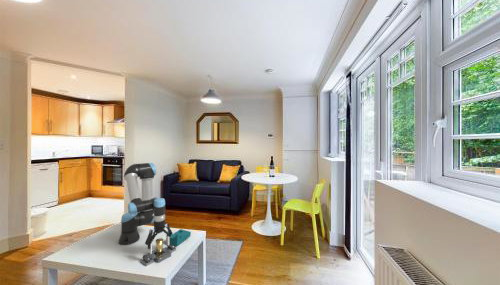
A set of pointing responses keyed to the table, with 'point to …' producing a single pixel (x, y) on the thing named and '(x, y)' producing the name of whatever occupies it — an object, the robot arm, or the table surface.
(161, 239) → the pin
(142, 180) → the robot arm
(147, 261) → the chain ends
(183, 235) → the teal notched block
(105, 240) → the table surface
